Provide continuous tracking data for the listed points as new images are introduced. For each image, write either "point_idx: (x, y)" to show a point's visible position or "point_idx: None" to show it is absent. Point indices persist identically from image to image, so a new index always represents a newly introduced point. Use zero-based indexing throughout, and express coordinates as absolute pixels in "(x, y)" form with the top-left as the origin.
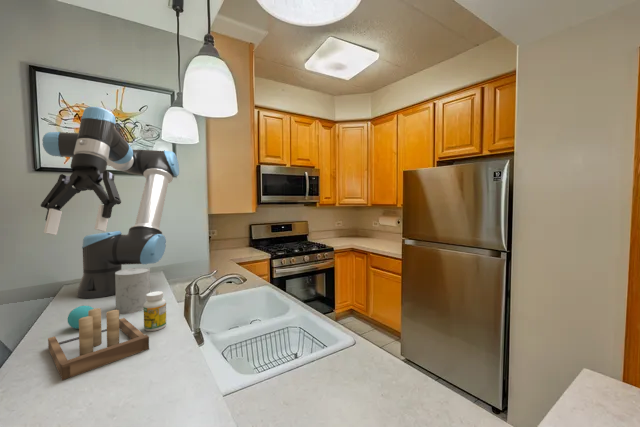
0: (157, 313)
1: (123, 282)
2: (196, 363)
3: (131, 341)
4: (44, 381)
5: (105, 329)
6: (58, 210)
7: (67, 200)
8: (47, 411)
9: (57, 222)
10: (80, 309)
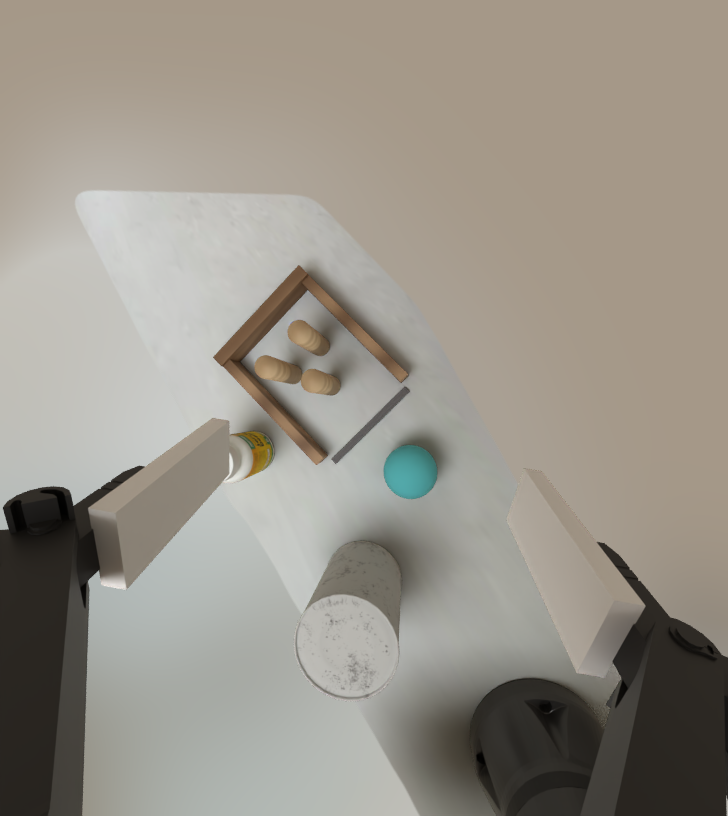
0: None
1: (353, 582)
2: (134, 309)
3: (234, 339)
4: (331, 273)
5: (350, 447)
6: (591, 648)
7: (586, 800)
8: (275, 210)
9: (538, 567)
10: (405, 463)
